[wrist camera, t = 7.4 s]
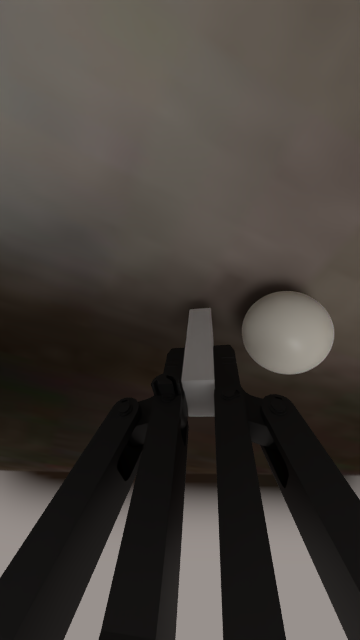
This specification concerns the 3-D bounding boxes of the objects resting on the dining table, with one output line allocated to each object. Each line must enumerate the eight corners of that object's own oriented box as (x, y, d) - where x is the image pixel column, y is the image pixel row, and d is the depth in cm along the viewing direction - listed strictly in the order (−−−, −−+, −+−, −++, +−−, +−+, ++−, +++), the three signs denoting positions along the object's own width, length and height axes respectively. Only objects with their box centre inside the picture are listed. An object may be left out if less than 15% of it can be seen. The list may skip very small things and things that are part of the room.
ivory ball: (373, 361, 11) (344, 303, 15) (279, 305, 11) (277, 262, 15) (291, 403, 14) (286, 347, 19) (220, 362, 14) (231, 314, 18)
